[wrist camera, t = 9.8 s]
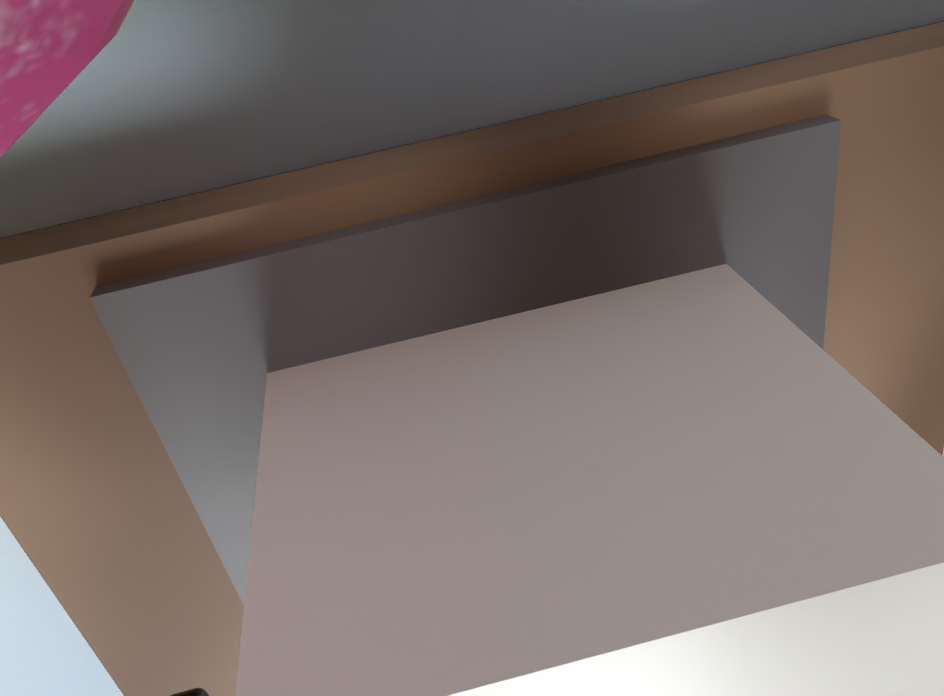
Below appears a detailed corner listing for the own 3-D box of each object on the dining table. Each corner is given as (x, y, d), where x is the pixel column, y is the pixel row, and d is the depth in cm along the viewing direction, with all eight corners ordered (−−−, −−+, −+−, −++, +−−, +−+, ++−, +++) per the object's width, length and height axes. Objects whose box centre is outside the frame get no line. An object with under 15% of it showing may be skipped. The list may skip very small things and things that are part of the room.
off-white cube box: (726, 264, 10) (1034, 537, 6) (724, 579, 13) (921, 907, 9) (266, 372, 10) (229, 754, 5) (378, 670, 13) (410, 1060, 8)
